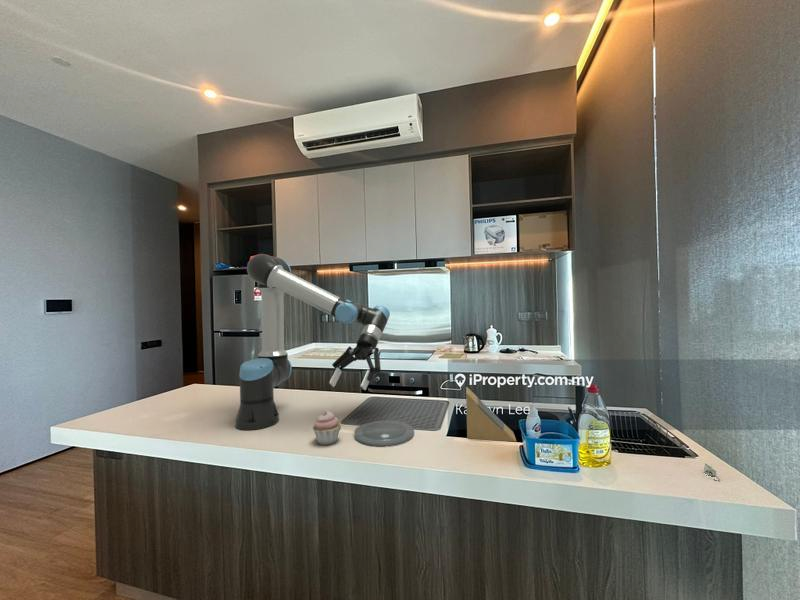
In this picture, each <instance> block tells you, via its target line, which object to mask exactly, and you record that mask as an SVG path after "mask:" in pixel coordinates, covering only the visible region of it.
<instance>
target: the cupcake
mask: <svg viewBox="0 0 800 600" xmlns="http://www.w3.org/2000/svg"><path fill="white" fill-rule="evenodd" d="M313 425H314V426H312V431H313V433H314V434H315V439H316V442H317V444H318V445H322V446H329V445H333V444H335V443H337V441H338V439H339V434H340V431H341V428H342V425H341V423H340V422H339V419H338V418H337V417H336V416H335V415H334V413H333V412H331V411H328V410H325V411H324V412H323V414H320V415H319V416H318V418H317V419H316V420H315V421H314V423H313Z"/></svg>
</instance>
